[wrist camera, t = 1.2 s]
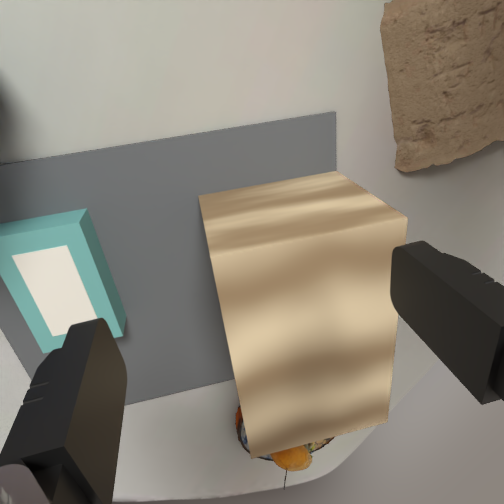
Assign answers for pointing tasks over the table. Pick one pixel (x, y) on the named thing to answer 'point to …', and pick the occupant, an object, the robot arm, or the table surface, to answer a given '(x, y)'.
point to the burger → (286, 458)
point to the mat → (160, 236)
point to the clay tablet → (444, 78)
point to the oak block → (306, 305)
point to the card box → (58, 275)
